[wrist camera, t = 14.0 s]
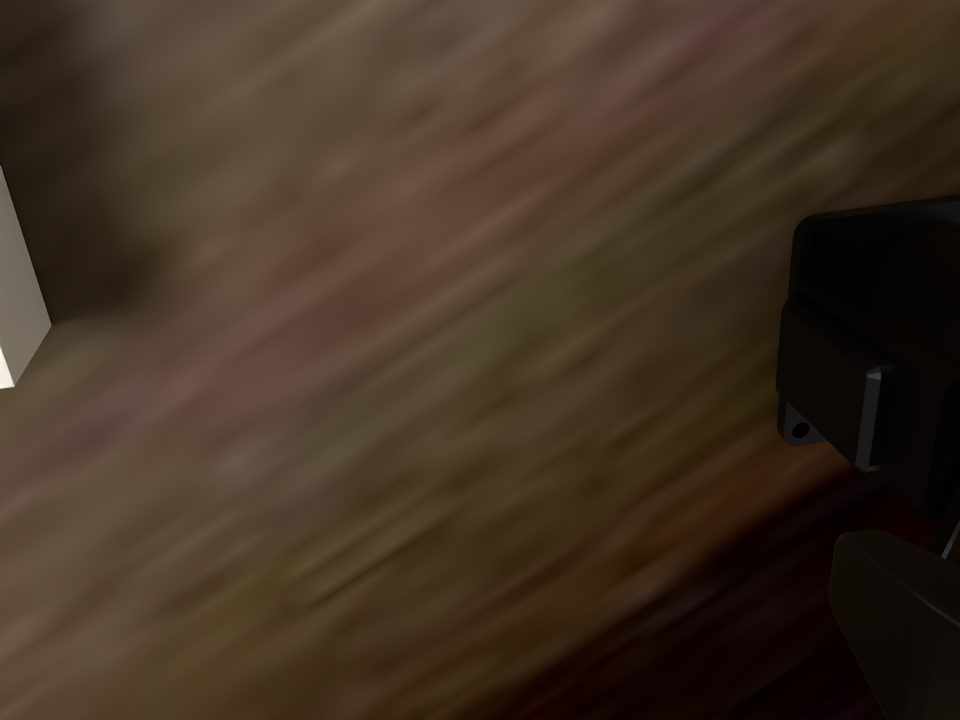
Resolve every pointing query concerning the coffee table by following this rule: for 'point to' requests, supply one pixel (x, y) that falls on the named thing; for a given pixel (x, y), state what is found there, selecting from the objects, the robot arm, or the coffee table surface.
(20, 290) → the parts tray
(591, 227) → the coffee table surface
